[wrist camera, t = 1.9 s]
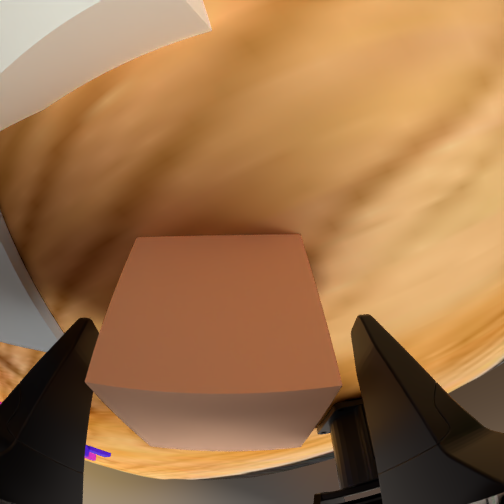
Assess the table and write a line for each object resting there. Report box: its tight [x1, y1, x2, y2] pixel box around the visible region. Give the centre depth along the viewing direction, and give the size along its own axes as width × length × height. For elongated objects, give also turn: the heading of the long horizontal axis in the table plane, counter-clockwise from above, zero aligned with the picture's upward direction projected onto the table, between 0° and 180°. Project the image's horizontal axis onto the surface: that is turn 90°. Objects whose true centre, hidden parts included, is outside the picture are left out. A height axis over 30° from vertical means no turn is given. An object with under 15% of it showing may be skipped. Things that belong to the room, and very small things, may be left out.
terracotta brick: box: [85, 234, 342, 451], centre depth 8 cm, size 5×5×5 cm
